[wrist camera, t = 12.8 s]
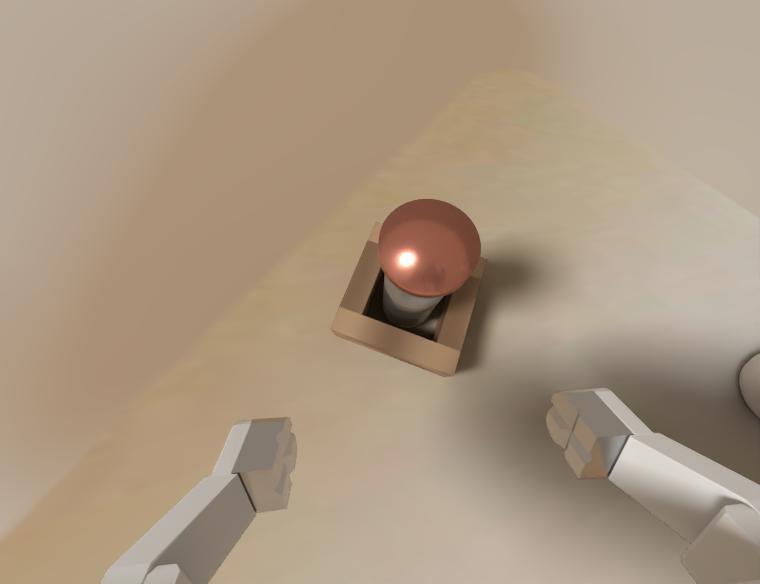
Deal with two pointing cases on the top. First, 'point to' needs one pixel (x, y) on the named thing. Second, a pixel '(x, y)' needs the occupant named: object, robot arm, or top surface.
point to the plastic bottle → (751, 384)
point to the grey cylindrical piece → (424, 257)
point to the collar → (395, 341)
